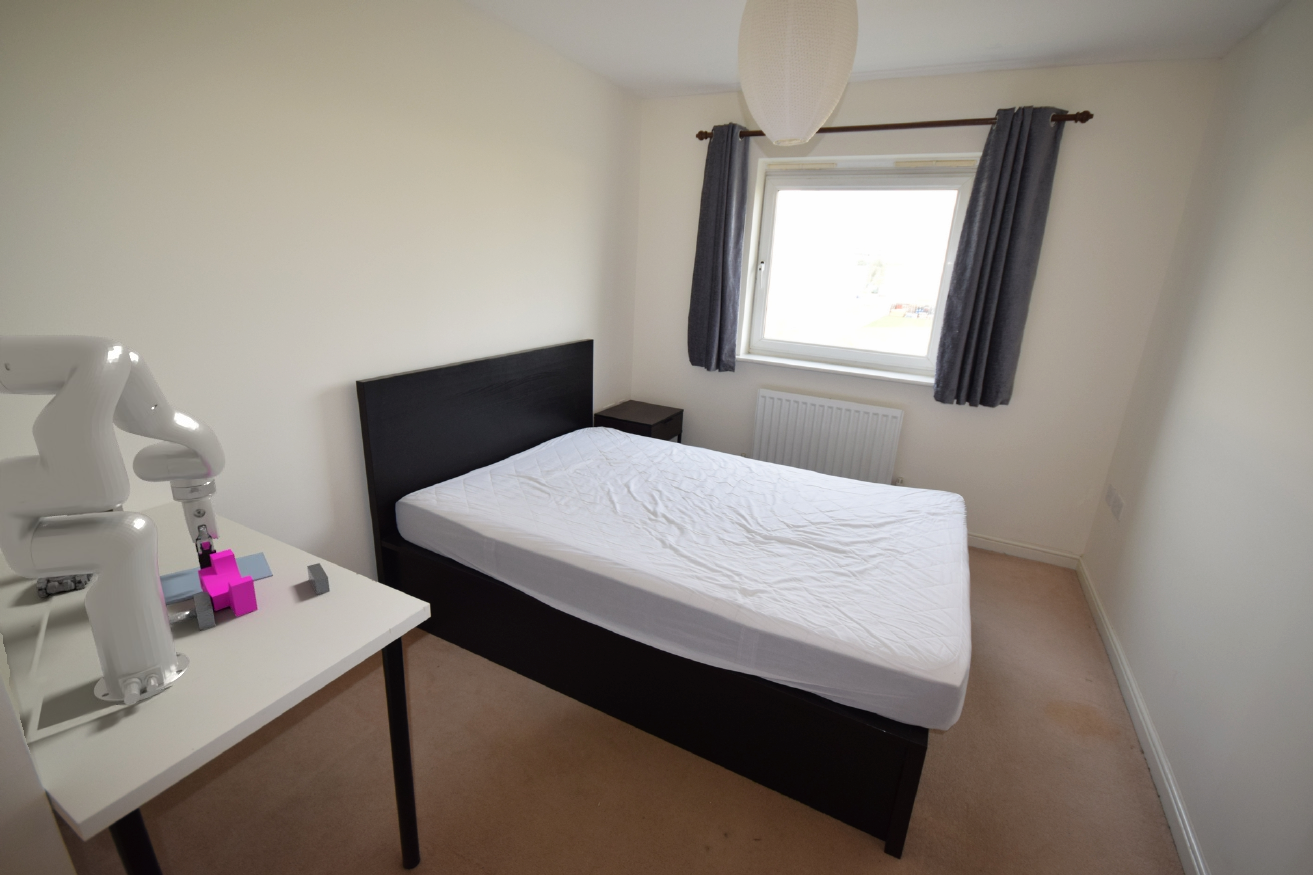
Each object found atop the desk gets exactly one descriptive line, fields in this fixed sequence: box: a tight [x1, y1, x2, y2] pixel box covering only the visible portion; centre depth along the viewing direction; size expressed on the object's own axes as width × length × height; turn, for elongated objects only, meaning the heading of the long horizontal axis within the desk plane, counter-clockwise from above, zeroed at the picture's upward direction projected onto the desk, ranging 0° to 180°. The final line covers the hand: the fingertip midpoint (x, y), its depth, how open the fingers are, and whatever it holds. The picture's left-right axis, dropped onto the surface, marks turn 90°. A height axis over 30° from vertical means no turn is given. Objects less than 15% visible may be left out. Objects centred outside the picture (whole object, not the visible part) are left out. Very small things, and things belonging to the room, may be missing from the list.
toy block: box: [198, 548, 259, 618], centre depth 121 cm, size 15×6×8 cm, turn 50°
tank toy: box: [35, 573, 95, 598], centre depth 126 cm, size 12×10×5 cm
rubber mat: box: [160, 551, 274, 606], centre depth 130 cm, size 14×22×1 cm, turn 131°
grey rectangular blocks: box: [168, 562, 331, 632], centre depth 120 cm, size 8×28×4 cm, turn 131°
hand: (207, 559), depth 129 cm, fingers open, 9 cm apart
